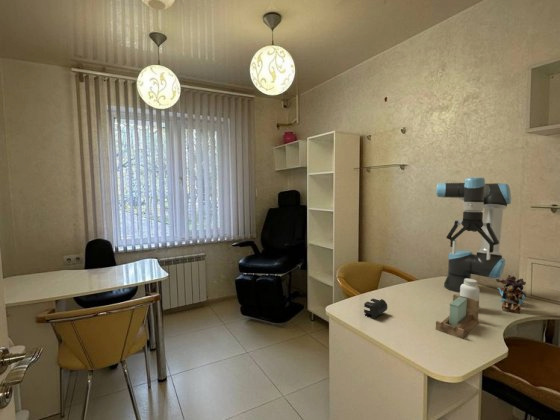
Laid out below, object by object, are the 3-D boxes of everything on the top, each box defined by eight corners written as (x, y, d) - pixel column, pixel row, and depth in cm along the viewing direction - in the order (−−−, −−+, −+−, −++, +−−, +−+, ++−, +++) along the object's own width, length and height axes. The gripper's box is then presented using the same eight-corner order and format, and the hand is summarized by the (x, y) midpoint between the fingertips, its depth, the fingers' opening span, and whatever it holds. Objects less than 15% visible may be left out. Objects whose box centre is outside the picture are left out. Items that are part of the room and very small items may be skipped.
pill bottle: (481, 313, 134) (483, 283, 133) (463, 311, 136) (464, 281, 135) (473, 306, 142) (475, 278, 141) (456, 305, 144) (457, 276, 143)
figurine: (499, 312, 135) (504, 276, 134) (492, 305, 144) (496, 271, 143) (526, 316, 132) (531, 279, 131) (517, 309, 141) (521, 274, 139)
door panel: (448, 326, 119) (449, 303, 118) (458, 317, 127) (459, 296, 126) (456, 329, 117) (458, 306, 116) (465, 320, 125) (467, 298, 124)
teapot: (493, 300, 150) (494, 287, 150) (498, 298, 154) (498, 285, 153) (522, 308, 141) (523, 294, 140) (526, 305, 144) (527, 291, 144)
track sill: (435, 329, 118) (436, 306, 118) (453, 314, 133) (454, 294, 132) (462, 338, 111) (463, 314, 110) (477, 322, 125) (479, 300, 125)
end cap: (377, 321, 126) (378, 306, 125) (363, 316, 131) (363, 302, 130) (387, 314, 133) (387, 300, 132) (373, 309, 138) (374, 296, 137)
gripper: (440, 210, 134) (438, 253, 136) (505, 213, 116) (502, 263, 117) (445, 209, 139) (443, 250, 141) (509, 212, 121) (506, 260, 122)
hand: (470, 256), depth 129 cm, fingers open, 13 cm apart
